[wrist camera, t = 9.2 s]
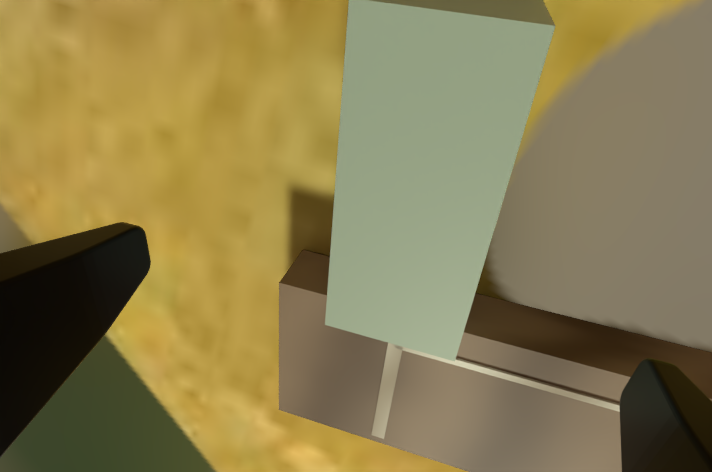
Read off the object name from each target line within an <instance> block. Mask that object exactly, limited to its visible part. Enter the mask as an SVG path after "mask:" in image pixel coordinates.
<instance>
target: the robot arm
mask: <svg viewBox="0 0 712 472" xmlns="http://www.w3.org/2000/svg"><path fill="white" fill-rule="evenodd" d="M150 262H151V261H150V255H149V250H148V244H147V239H146V234H145V231H144V230H143V228H141V227H140V226H136V225H133V224H129V223H124V222H120V223H116V224H112V225H108V226H104V227H100V228H96V229H92V230H89V231H85V232H81V233H77V234H73V235H69V236H65V237H62V238H58V239H54V240H50V241H46V242H42V243H38V244H35V245H31V246H27V247H23V248H19V249H16V250H11V251H8V252H4V253H0V458H1V456H2V455H3V454H4V453H5V452H6V450H7V449H8V448H9V447H10V446H11V445H12V443H13V442H14V441H15V440H16V439H17V438H18V436H19V435H20V434H21V433H22V432H23V430H24V429H25V428H26V427H27V425H29V423H30V422H31V421H32V420H33V419H34V418H35V416H36V415H37V414H38V413H39V412H40V410H41V409H42V408H43V407H44V406H45V405H46V403H47V402H48V401H49V400H50V399H51V398H52V396H53V395H54V394H55V393H56V392H57V390H58V389H59V388H60V387H61V386H62V385H63V384H64V382H65V381H66V380H67V379H68V377H69V376H70V375H71V374H72V373H73V372H74V371H75V369H76V368H77V367H78V366H79V365H80V363H81V362H82V361H83V360H84V358H86V356H87V355H88V354H89V353H90V352H91V350H92V349H93V348H94V347H95V346H96V345H97V343H98V342H99V341H100V340H101V339H102V337H103V336H104V335H105V333H106V332H107V331H108V329H109V328H110V327H111V325H112V324H113V322H114V321H115V320H116V318H117V317H118V315H119V314H120V312H121V311H122V309H123V308H124V307H125V305H126V304H127V302H128V301H129V299H130V298H131V296H132V295H133V294H134V292H135V291H136V289H137V288H138V286H139V285H140V284H141V282H142V281H143V279H144V278H145V276H146V275H147V273H148V271H149V268H150ZM620 436H621V464H622V472H712V401H711V400H710V399H709V398H708V397H707V396H706V395H705V394H704V393H703V392H702V391H701V390H700V389H699V388H698V387H697V386H696V385H695V384H694V383H693V382H692V381H691V380H690V379H689V378H688V377H687V376H686V375H685V374H684V373H683V372H682V371H681V370H680V369H679V368H678V367H677V366H676V365H674V364H671V363H668V362H664V361H660V360H656V359H652V358H646V359H643V360H642V361H641V362H640V363H639V365H638V366H637V368H636V370H635V371H634V373H633V375H632V376H631V378H630V379H629V381H628V383H627V384H626V386H625V388H624V389H623V391H622V394H621V397H620Z"/></svg>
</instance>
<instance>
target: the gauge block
mask: <svg viewBox="0 0 712 472" xmlns="http://www.w3.org/2000/svg"><path fill="white" fill-rule="evenodd" d="M554 29H555V24H554V22H553V20H552V18H551V16H550V14H549V12H548V10H547V8H546V6H545V4H544V2H543V0H349V6H348V19H347V33H346V46H345V60H344V73H343V87H342V100H341V114H340V127H339V141H338V154H337V168H336V181H335V195H334V208H333V222H332V235H331V249H330V263H329V276H328V290H327V303H326V317H325V325H328V326H331V327H335V328H338V329H342V330H345V331H349V332H352V333H356V334H359V335H363V336H366V337H370V338H374V339H377V340H381V341H384V342H388V343H391V344H395V345H398V346H402V347H405V348H409V349H412V350H416V351H420V352H423V353H427V354H430V355H434V356H437V357H441V358H444V359H448V360H451V361H455V359H456V356H457V353H458V349H459V346H460V343H461V339H462V336H463V333H464V329H465V326H466V323H467V319H468V316H469V313H470V309H471V306H472V303H473V299H474V296H475V293H476V289H477V286H478V283H479V279H480V276H481V272H482V269H483V266H484V262H485V259H486V256H487V252H488V249H489V246H490V242H491V239H492V236H493V232H494V229H495V226H496V222H497V219H498V216H499V212H500V209H501V206H502V202H503V199H504V196H505V192H506V189H507V186H508V182H509V179H510V176H511V172H512V169H513V166H514V162H515V159H516V156H517V152H518V149H519V146H520V142H521V139H522V136H523V132H524V129H525V126H526V122H527V119H528V115H529V112H530V109H531V105H532V102H533V99H534V95H535V92H536V89H537V85H538V82H539V79H540V75H541V72H542V69H543V65H544V62H545V59H546V55H547V52H548V49H549V45H550V42H551V39H552V35H553V32H554Z"/></svg>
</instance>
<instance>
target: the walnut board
mask: <svg viewBox="0 0 712 472" xmlns="http://www.w3.org/2000/svg"><path fill="white" fill-rule="evenodd" d="M329 263H330V256H326V255H322V254H318V253H314V252H310V251H306V250H302V252H301V253H300V255H299V256H298V257H297V259H296V260H295V262H294V263H293V264H292V266H291V267H290V268H289V270H288V271H287V273H286V274H285V275H284V277H283V278H282V280H281V281H280V282H279V410H281V411H284V412H288V413H291V414H294V415H297V416H300V417H303V418H306V419H309V420H312V421H315V422H318V423H321V424H324V425H327V426H330V427H334V428H337V429H340V430H343V431H346V432H349V433H352V434H355V435H358V436H361V437H364V438H367V439H370V440H373V441H377V442H380V443H383V444H386V445H389V446H392V447H395V448H398V449H401V450H404V451H407V452H410V453H413V454H416V455H419V456H423V457H426V458H429V459H432V460H435V461H438V462H441V463H444V464H447V465H450V466H453V467H456V468H459V469H462V470H465V471H469V472H622V464H621V436H620V397H621V394H622V391H623V389H624V388H625V386H626V384H627V383H628V381H629V379H630V378H631V376H632V375H633V373H634V371H635V370H636V368H637V366H638V365H639V363H640V362H641V361H642V360H643V359H646V358H652V359H656V360H660V361H664V362H668V363H671V364H674V365H676V366H677V367H678V368H679V369H680V370H681V371H682V372H683V373H684V374H685V375H686V376H687V377H688V378H689V379H690V380H691V381H692V382H693V383H694V384H695V385H696V386H697V387H698V388H699V389H700V390H701V391H702V392H703V393H704V394H705V395H706V396H707V397H708V398H709V399H710V400H711V401H712V353H711V352H707V351H703V350H699V349H695V348H691V347H687V346H683V345H679V344H675V343H671V342H667V341H663V340H659V339H655V338H652V337H648V336H644V335H640V334H636V333H632V332H628V331H624V330H620V329H616V328H612V327H608V326H604V325H600V324H596V323H592V322H588V321H584V320H580V319H576V318H572V317H568V316H564V315H560V314H556V313H552V312H548V311H544V310H540V309H536V308H532V307H528V306H524V305H520V304H516V303H512V302H508V301H504V300H500V299H497V298H493V297H489V296H485V295H481V294H477V293H475V296H474V299H473V303H472V306H471V309H470V313H469V316H468V319H467V323H466V326H465V329H464V333H463V336H462V339H461V343H460V346H459V349H458V353H457V356H456V359H455V361H451V360H448V359H444V358H441V357H437V356H434V355H430V354H427V353H423V352H420V351H416V350H412V349H409V348H405V347H402V346H398V345H395V344H391V343H388V342H384V341H381V340H377V339H374V338H370V337H366V336H363V335H359V334H356V333H352V332H349V331H345V330H342V329H338V328H335V327H331V326H328V325H325V317H326V303H327V290H328V276H329Z"/></svg>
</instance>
